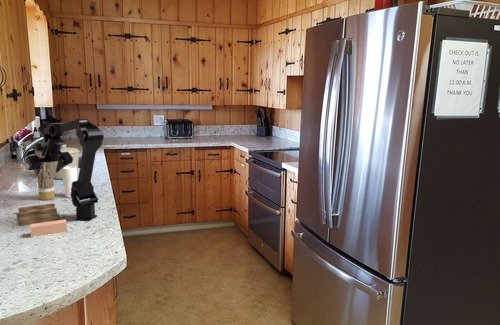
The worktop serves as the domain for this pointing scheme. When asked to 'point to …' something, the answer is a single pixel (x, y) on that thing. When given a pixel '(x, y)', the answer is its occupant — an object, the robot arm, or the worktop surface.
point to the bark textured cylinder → (45, 180)
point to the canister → (75, 155)
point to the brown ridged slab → (38, 214)
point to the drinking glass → (69, 178)
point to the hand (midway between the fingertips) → (46, 173)
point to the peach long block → (48, 228)
